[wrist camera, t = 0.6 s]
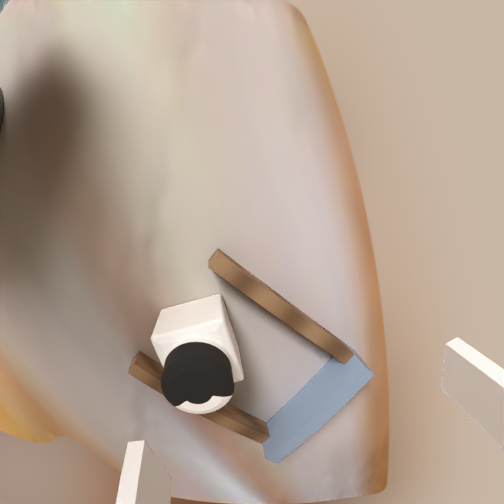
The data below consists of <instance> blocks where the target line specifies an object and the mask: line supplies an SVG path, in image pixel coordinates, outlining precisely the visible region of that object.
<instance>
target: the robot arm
mask: <svg viewBox="0 0 504 504" xmlns="http://www.w3.org/2000/svg"><path fill="white" fill-rule="evenodd" d="M8 1H9V0H0V13H1V12H2V10H3V7H4V6H5V5H6V4H7V2H8ZM2 118H3V97H2V92H1V89H0V129H1V124H2ZM440 389H441V390H442V391H443V392H444V393H445V394H446V395H447V396H448V397H449V398H450V399H451V400H453V402H454V403H455V404H457V405H458V406H459V407H460V408H461V409H462V410H463V411H464V412H465V413H466V414H467V415H468V416H469V417H470V418H471V419H472V420H473V421H474V422H476V424H477V425H478V426H480V427H481V428H482V429H483V430H484V431H485V432H486V433H487V434H488V435H489V436H490V437H491V438H492V439H493V440H494V441H495V442H496V443H497V444H498V445H499V446H500V447H501V448H502V449H503V450H504V369H502V368H501V367H499V366H498V365H497V364H495V363H494V362H492V361H491V360H490V359H488V358H487V357H485V356H484V355H482V354H481V353H479V352H478V351H476V350H475V349H474V348H472V347H471V346H469V345H468V344H467V343H465V342H464V341H462V340H461V339H459V338H455V339H454V340H452V341H450V342H448V343H446V345H445V355H444V364H443V371H442V379H441V386H440ZM170 501H171V476H170V474H169V473H168V472H167V471H166V469H165V468H164V467H163V465H162V464H161V463H160V461H159V460H158V458H157V457H156V456H155V454H154V453H153V451H152V450H151V449H150V447H149V446H148V444H147V443H146V441H145V440H142V441H133V442H128V445H127V450H126V454H125V459H124V464H123V468H122V473H121V478H120V483H119V489H118V494H117V499H116V504H170Z"/></svg>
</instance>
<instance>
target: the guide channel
mask: <svg viewBox="0 0 504 504" xmlns="http://www.w3.org/2000/svg"><path fill="white" fill-rule="evenodd" d="M209 268H210V269H211V270H213V271H214V272H215V273H217V274H218V275H220V276H221V277H222V278H224V279H225V280H226V281H228V282H229V283H230V284H232V285H233V286H234V287H236V288H237V289H239V290H240V291H241V292H243V293H244V294H245V295H247V296H248V297H250V298H251V299H252V300H254V301H255V302H256V303H258V304H259V305H261V306H262V307H263V308H265V309H266V310H268V311H269V312H270V313H272V314H273V315H275V316H276V317H277V318H279V319H280V320H282V321H283V322H285V323H286V324H287V325H289V326H290V327H292V328H293V329H295V330H296V331H297V332H299V333H300V334H302V335H303V336H305V337H306V338H307V339H309V340H310V341H312V342H313V343H315V344H316V345H318V346H319V347H321V348H322V349H323V350H325V351H326V352H328V353H329V354H331V355H332V356H334V357H335V358H337V359H338V360H340V361H341V362H343V363H344V364H346V363H347V362H348V361H349V360H350V359H351V358H352V357H353V356H354V354H353V352H352V351H351V350H350V349H349V348H348V346H347V345H346V344H345V343H344V342H342V341H341V340H340V339H338V338H337V337H336V336H334V335H333V334H331V333H330V332H329V331H327V330H326V329H325V328H323V327H322V326H321V325H319V324H318V323H317V322H315V321H314V320H312V319H311V318H310V317H308V316H307V315H306V314H304V313H303V312H302V311H300V310H299V309H298V308H296V307H295V306H294V305H292V304H291V303H290V302H288V301H287V300H286V299H284V298H283V297H282V296H280V295H279V294H278V293H276V292H275V291H274V290H272V289H271V288H270V287H268V286H267V285H266V284H264V283H263V282H262V281H260V280H259V279H258V278H256V277H255V276H254V275H252V274H251V273H250V272H248V271H247V270H246V269H244V268H243V267H242V266H240V265H239V264H238V263H237V262H235V261H234V260H233V259H231V258H230V257H229V256H227V255H226V254H225V253H223V252H222V251H221V250H220V249H217V250H216V252H215V253H214V254H213V255H212V257H211V258H210V259H209ZM162 372H163V366H162V365H160V364H159V363H157V362H155V361H154V360H152V359H151V358H149V357H148V356H146V355H145V354H143V353H142V352H140V351H139V352H138V353H137V355H136V356H135V357H134V359H133V361H132V363H131V366H130V368H129V371H128V373H129V374H131V375H132V376H134V377H135V378H137V379H139V380H140V381H142V382H143V383H145V384H147V385H148V386H150V387H151V388H153V389H155V390H156V391H158V392H160V393H161V394H163V392H162V389H161V377H162ZM163 395H164V394H163ZM200 415H201V416H203V417H205V418H207V419H209V420H211V421H213V422H215V423H217V424H220V425H222V426H224V427H226V428H228V429H230V430H232V431H234V432H237V433H239V434H241V435H243V436H246V437H248V438H250V439H253V440H255V441H257V442H260V443H262V444H263V443H264V442H265V441H266V440H267V439H269V438H270V434H269V430H268V427H267V423H266V422H264V421H262V420H259V419H257V418H255V417H253V416H251V415H249V414H247V413H245V412H243V411H241V410H239V409H237V408H235V407H233V406H231V405H229V404H226V405H224V406H223V407H222V408H220V409H218V410H216V411H214V412H210V413H206V414H200Z"/></svg>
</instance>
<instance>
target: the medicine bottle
mask: <svg viewBox="0 0 504 504" xmlns="http://www.w3.org/2000/svg"><path fill="white" fill-rule="evenodd" d="M151 342H152V344H153V346H154V348H155V351H156V353H157V355H158V357H159V359H160V362H161V364H162V366H163V372H162V377H161V389H162V392H163V394H164V396H165V398H166V399H167V400H168V401H169V402H170V403H171V404H172V405H173V406H175V407H177V408H178V409H180V410H182V411H185V412H188V413H193V414H206V413H210V412H214V411H216V410H218V409H220V408H222V407H223V406H224V405H226V404H227V403H228V402H229V400H230V399H231V397H232V395H233V392H234V383H235V382H238V381H242V380H243V379H244V374H243V369H242V363H241V358H240V353H239V348H238V344H237V341H236V338H235V335H234V332H233V329H232V326H231V322H230V319H229V316H228V313H227V310H226V307H225V304H224V301H223V298H222V295H221V294H216V295H212V296H209V297H205V298H201V299H198V300H194V301H191V302H187V303H183V304H180V305H176V306H172V307H169V308H165V309H162V310H161V311H160V314H159V317H158V319H157V322H156V325H155V327H154V330H153V333H152V336H151Z"/></svg>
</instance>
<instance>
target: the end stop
mask: <svg viewBox="0 0 504 504" xmlns="http://www.w3.org/2000/svg"><path fill="white" fill-rule="evenodd" d="M347 346H348V345H347ZM348 348H349V349H350V350H351V351H352V352H353V354H354V356H353V357H352V358H351V359H350V360H349V361H348V362H347V363H346V364H344V363H343V362H341V361H340V360H338V359H337V358H335V357H334V356H333V357H332V358H331V359H330V361H329V362H328V363H327V364H326V365H325V366H324V367H323V368H322V369H321V370H320V371H319V372H318V373H317V374H316V375H315V376H314V377H313V378H312V379H311V380H310V382H309V383H308V384H307V385H306V386H305V387H304V388H303V389H302V390H301V391H300V392H299V393H298V394H297V395H296V396H295V397H293V398H292V399H291V400H290V401H289V402H288V403H287V404H286V405H285V406H284V407H283V408H282V409H281V410H280V411H279V412H278V413H277V414H276V415H275V416H273V417H272V418H271V419H270V420H269V421H268V422H267V427H268V430H269V434H270V438H269V439H267V440H266V441H265V442H264V443H263V448H264V452H265V457H266V459H267V460H270V461H273V462H275V463H279V462H280V461H281V460H283V459H284V458H285V457H286V456H288V455H289V454H290V453H291V452H293V451H294V450H295V449H296V448H297V447H299V446H300V445H301V444H302V443H303V442H305V441H306V440H307V439H308V438H309V437H310V436H312V435H313V434H314V433H315V432H316V431H317V430H318V429H319V428H321V427H322V426H323V425H324V424H325V423H326V422H327V421H328V420H329V419H330V418H332V417H333V416H334V415H335V414H336V413H337V412H338V411H339V410H340V409H341V408H342V407H343V406H344V405H345V404H346V403H347V402H348V401H349V400H350V399H351V398H352V397H353V396H354V395H355V394H356V393H357V392H358V391H359V390H360V389H361V388H362V387H363V386H364V385H365V384H366V383H367V382H368V381H369V380H370V379H371V377H372V376H373V375H374V373H373V371H372V370H371V369H370V368H369V367H368V366H367V364H366V363H365V362H364V361H363V360H362V359H361V357H360V356H359V355H358V354H357V353H356V352H355V350H353V349H352V348H351V347H349V346H348Z"/></svg>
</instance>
